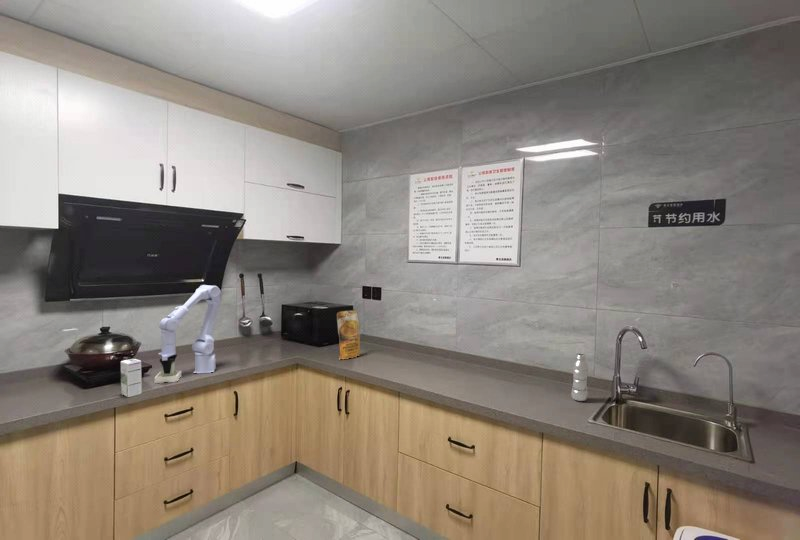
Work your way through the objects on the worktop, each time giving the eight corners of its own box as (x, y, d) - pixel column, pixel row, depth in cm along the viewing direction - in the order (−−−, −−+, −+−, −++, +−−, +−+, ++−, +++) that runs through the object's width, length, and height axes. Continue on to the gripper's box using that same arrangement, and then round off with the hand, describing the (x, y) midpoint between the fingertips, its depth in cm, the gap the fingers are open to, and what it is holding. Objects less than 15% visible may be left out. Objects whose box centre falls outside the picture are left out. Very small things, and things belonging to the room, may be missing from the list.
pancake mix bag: (332, 359, 236) (333, 311, 235) (356, 353, 250) (357, 308, 249) (339, 361, 231) (340, 312, 231) (363, 355, 246) (364, 310, 245)
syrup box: (142, 393, 172) (142, 359, 172) (127, 397, 167) (127, 362, 166) (135, 391, 175) (135, 358, 174) (120, 395, 170) (120, 360, 169)
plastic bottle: (568, 400, 175) (570, 354, 175) (574, 396, 180) (576, 351, 179) (583, 404, 171) (585, 357, 170) (589, 400, 175) (591, 354, 175)
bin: (181, 376, 197) (181, 370, 197) (177, 382, 188) (177, 376, 188) (160, 378, 194) (160, 371, 194) (154, 383, 185) (154, 377, 185)
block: (174, 373, 194) (174, 361, 194) (172, 376, 190) (172, 363, 189) (164, 374, 192) (164, 362, 192) (161, 377, 188) (161, 364, 188)
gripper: (162, 340, 196) (162, 368, 197) (154, 347, 182) (154, 376, 183) (179, 340, 198) (179, 367, 199) (172, 346, 185) (172, 375, 185)
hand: (168, 371), depth 191 cm, fingers closed on block, 4 cm apart
